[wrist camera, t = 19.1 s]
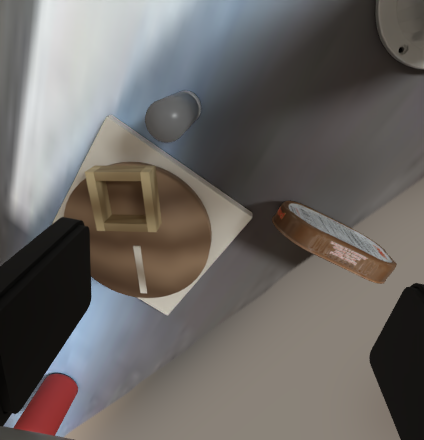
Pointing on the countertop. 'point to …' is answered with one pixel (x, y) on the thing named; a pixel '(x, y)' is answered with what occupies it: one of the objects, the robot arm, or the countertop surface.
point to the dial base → (151, 154)
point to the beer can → (49, 405)
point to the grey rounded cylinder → (172, 116)
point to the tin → (333, 241)
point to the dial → (142, 228)
